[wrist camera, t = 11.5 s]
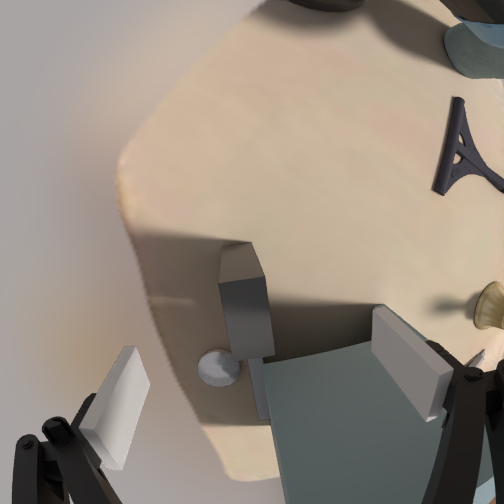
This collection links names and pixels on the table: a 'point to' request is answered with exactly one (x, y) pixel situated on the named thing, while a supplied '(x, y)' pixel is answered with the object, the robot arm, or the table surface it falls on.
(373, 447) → the cabinet
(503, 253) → the table surface
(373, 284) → the table surface
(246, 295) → the grey l-bracket
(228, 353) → the steel token
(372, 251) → the table surface
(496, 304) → the hand bell
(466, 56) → the grey-green hollow cylinder
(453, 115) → the dark squeegee
